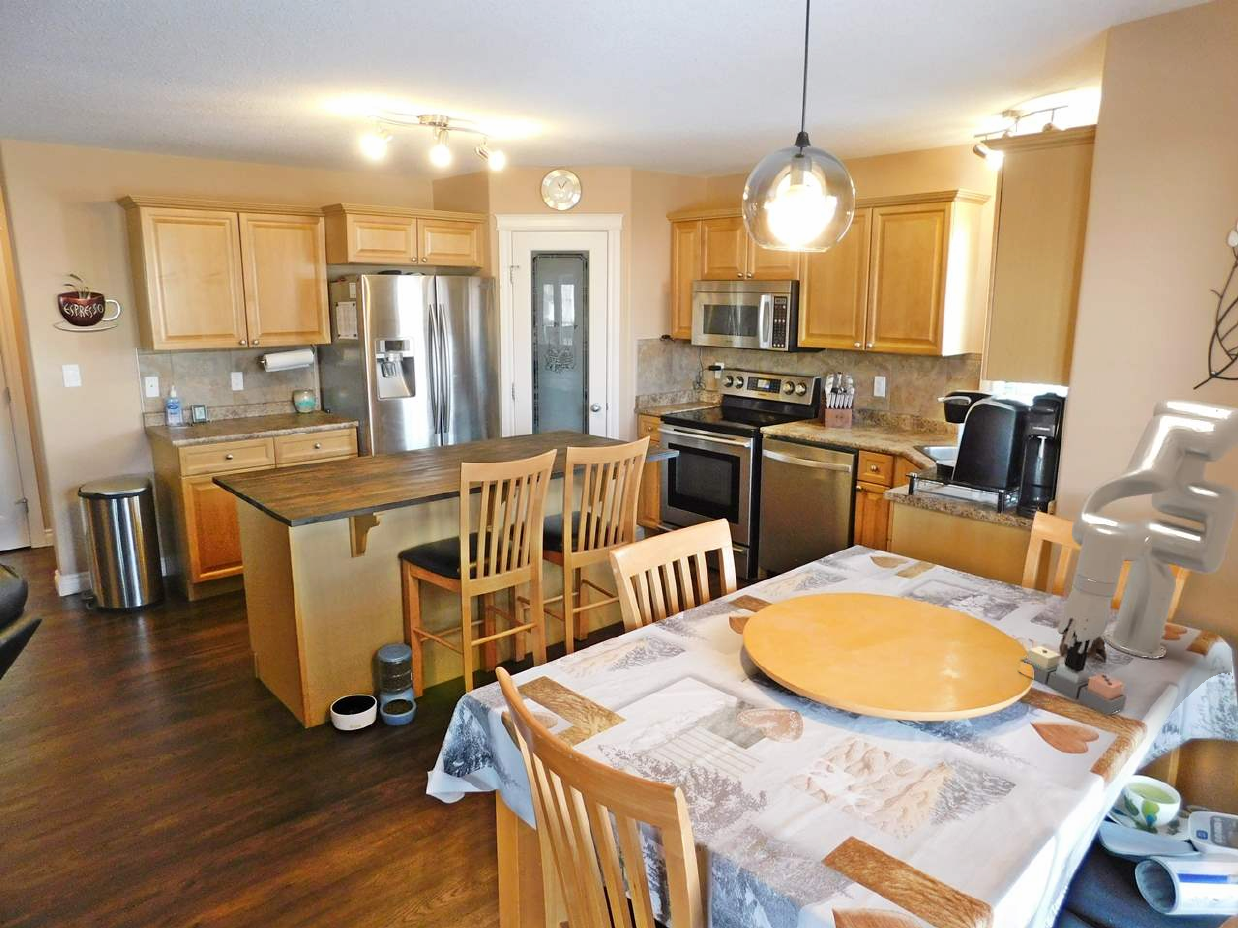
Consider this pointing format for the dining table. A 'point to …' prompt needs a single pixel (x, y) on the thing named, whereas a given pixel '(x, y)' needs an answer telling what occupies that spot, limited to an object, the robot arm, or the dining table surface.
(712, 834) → the dining table surface
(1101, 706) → the tile base
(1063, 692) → the tile two base
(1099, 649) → the pottery mug
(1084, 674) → the button two
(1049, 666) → the button one
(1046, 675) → the tile one base
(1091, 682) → the button three
